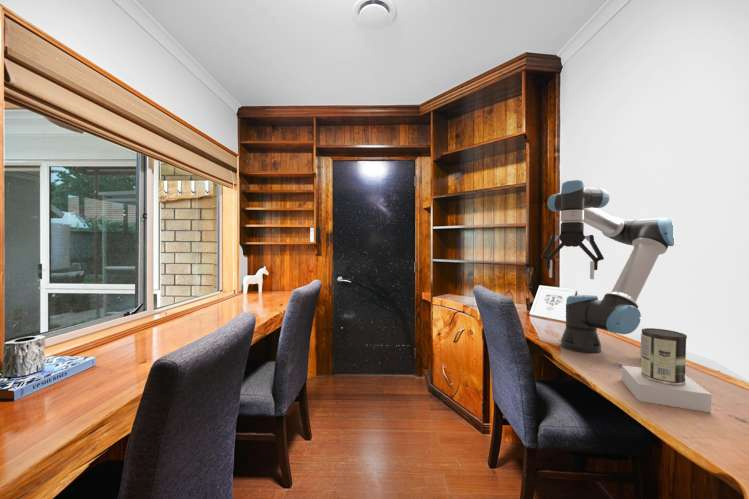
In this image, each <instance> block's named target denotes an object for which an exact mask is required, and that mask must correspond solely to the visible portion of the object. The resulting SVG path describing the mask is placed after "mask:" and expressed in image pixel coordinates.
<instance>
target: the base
mask: <svg viewBox="0 0 749 499" xmlns="http://www.w3.org/2000/svg"><path fill="white" fill-rule="evenodd" d="M621 381H622V383H623V384H624V385H625V386H626V388H627V389H628V390H629V391H630V392H631V394H632V396H634V397H635V399H636V400H637V402H642V403H647V404H654V405H660V404H661V406H666V405H668V407H674V408H679V407H680V409H684V410H685V409H686V410H692V411H693V410H694V411H699V412H706V413H711V412H712V394H711V393H710V392H709V391H708V390H706V389H705V388H704V387H702V386H701V385H700V384H698V382H695V381H694V380H693V379H692V378H690V377H689V376H688V375H686V374H685V384H684V385H669V384H663V383H659V382H655V381H652V380H649V379H647V378H645V377H643V376H642V375H641V367H638V366H630V365H625V364H624V365H623V364H622V365H621Z"/></svg>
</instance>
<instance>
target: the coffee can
mask: <svg viewBox="0 0 749 499" xmlns="http://www.w3.org/2000/svg"><path fill="white" fill-rule="evenodd" d="M641 333H642V360H641V367H640V368H641V375H642V376H643V377H645V378H647V379H649V380H652V381H655V382H659V383H663V384H669V385H684V384H685V375H686V361H687V360H686V357H687V356H686V355H687V338H688V335H687V334H685V333H683V332H679V331H675V330H669V329H663V328H662V329H661V328H654V327H653V328H652V327H651V328H650V327H649V328H642V329H641Z"/></svg>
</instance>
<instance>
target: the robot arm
mask: <svg viewBox="0 0 749 499" xmlns="http://www.w3.org/2000/svg"><path fill="white" fill-rule="evenodd" d="M585 184H586V183H585V181H583V179H582V180H581V179H574V180H566V181H564V182H562V184H561V192H558V193H554V194H552V195H550V196H549V197H548V199H547V207H548V209H549V210H550V211H552V212H560V222H561V223H560V229H559V230H560V232H559V235H555V234H551V236H550V241H549V242H548V244H547V245H546V247H545V249H544V251H543V252H542V254H541V256H540V257H541V259H544V260H545V263H546V264H545V265H546V266H545V268H546V269H548V277H549V278H551V279H552V278H553V260H552V258H553V257H554V256H555V255H556V254H557V253H558V252H560V250H561V249H563V247H568V248H569V247H575V248H576V247H579V248H580V249H581V250H582V251H583V252H584V253H585V254H586V255H587V257H589V258H590V259H591V260H592V261H591V260H590V261H589V266H590V267H589V268H590V269H589V279H590V280H595V271H598V264H599V261H603V260H604V259H605V258H604V255H603V254H602V252H601V250H600V248H599V247H598V245H597V243H596V242H595V236H594V235H593V234H589V235H585V233H584V232H585V231H584V229H585V228H584V227H585V226H584V225H585V224H586V225H588V226H590V227H592V228H594V229H596V230H598V231H600V232H601V233H602V234H603V236H605V237H607V238H609V239H611V240H613V241H615V242H618V243H620V244H624V245H628V246H632V247H633V248H632V251H631V253H630V255H629V257H628V259H627V261H626V262H625V265H624V267H623V269H622V270H621V273H620V274H619V276H618V279H617V280H616V283H615V284H614V285H613V288H612V290H611V291H610V292H608V293H605V294H604V296H603V297H602V299H601V300H599V298H598V295H592V294H589V295H587V294H586V295H582V294H580V295H579V294H577V295H568V296H567V297H566V301H565V302H566V303H565V329H564V330H563V332H562V336H561V339H560V345H561V346H562V347H563V348H564V349H565V348H566V349H568V350H571V351H576V352H580V353H581V352H582V353H590V354H591V353H593V354H595V353H600V352H601V351H602V343H601V341H600V338H599V334H598V332H597V331H598V329H599V330H603V331H607V332H609V333H613V334H618V335H619V334H620V335H628V334H631V333H634V331H636V330H637V329H638V327H639V325H640V323H641V317H642V315H641V311H640V310H639V305H638V303H637V300H638V298H639V297H640V294H641V292H642V290H643V288H644V286H645V283H647V282H646V281H647V280H648V278H649V276H650V274H651V271H653V268H654V266H655V264H656V262H657V259H658V258H659V256H660V255H663V254H666V252H667V250H668V249H669V247H674V246H673V245H674V238H673V225H672V220H671V219H672V218H671V217H658V218H643V219H624V218H620V217H618V216H611V215H609V214H608V213H606V212H605V211H602V210H600V208H605V207H606V206H607V205H608V204H609V202H610V193H609V192H608V191H607V190H606V189H603V188H600V187H596V188H595V187H586V185H585ZM670 218H671V219H670ZM558 239H559V241H560V243H559V244H558V246H557V247H555V248H554V249H553V251H552V252H550V253H549V251H550V250H551V248H552V247H553V245H554V243H555V241H557V240H558ZM584 240H586V241H587V242H588V243H589V244H590V246H591V248H592V250H593V252H594V253H595V254H596V255H594V254H593V252H591V250H589V248H588V247H587V246H586V245H585V244H584V243H583V241H584ZM668 246H669V247H668ZM548 253H549V254H548ZM596 256H597V257H596Z"/></svg>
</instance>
